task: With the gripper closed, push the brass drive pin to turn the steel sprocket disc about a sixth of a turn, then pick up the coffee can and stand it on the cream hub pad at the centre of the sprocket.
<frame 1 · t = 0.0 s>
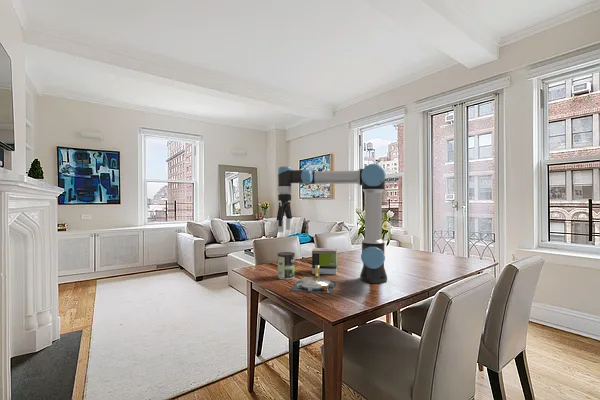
hand: (284, 230, 169), 28 cm above the table, tool pointing down, fingers open, 13 cm apart
tea box: (324, 272, 186), on the table
base plate: (314, 286, 157), on the table
coffee can: (286, 277, 175), on the table
sprocket: (314, 276, 157), point 5 cm above the table, hinge at 0.0°
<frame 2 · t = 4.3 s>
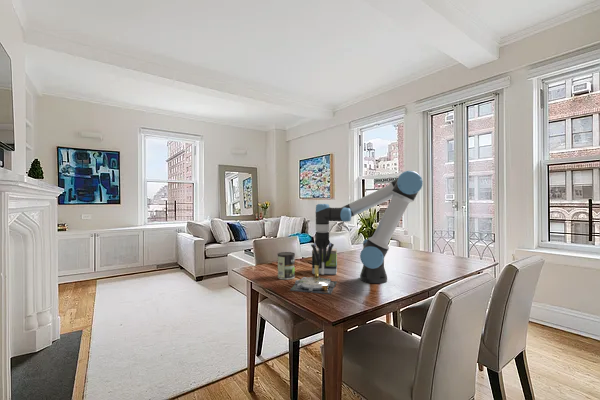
hand: (322, 273, 165), 5 cm above the table, tool pointing down, fingers closed
sprocket: (314, 276, 157), point 5 cm above the table, hinge at 2.5°, touching gripper
everything else where it was.
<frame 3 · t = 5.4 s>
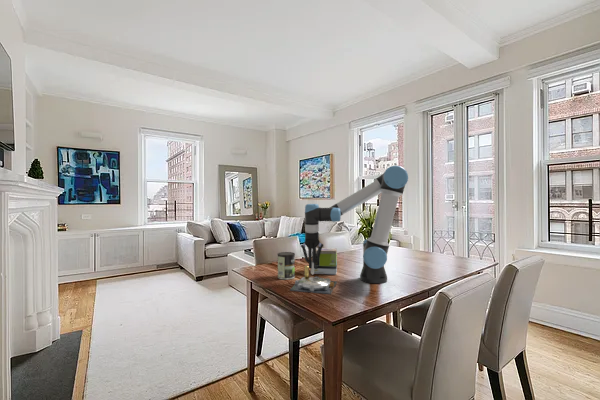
hand: (312, 273, 164), 5 cm above the table, tool pointing down, fingers closed
sprocket: (314, 276, 157), point 5 cm above the table, hinge at 50.3°, touching gripper
everything else where it was.
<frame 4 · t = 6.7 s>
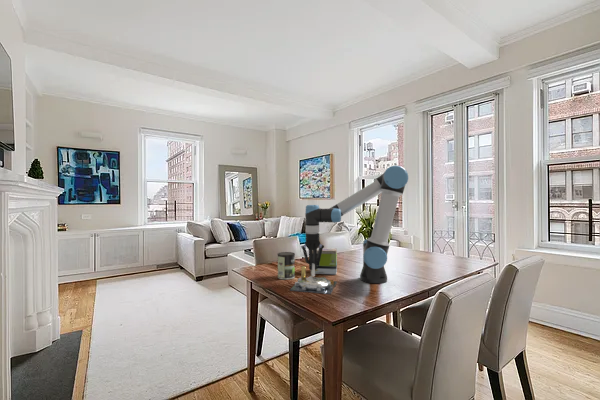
hand: (312, 275, 163), 4 cm above the table, tool pointing down, fingers closed
sprocket: (314, 276, 157), point 5 cm above the table, hinge at 69.9°
everything else where it was.
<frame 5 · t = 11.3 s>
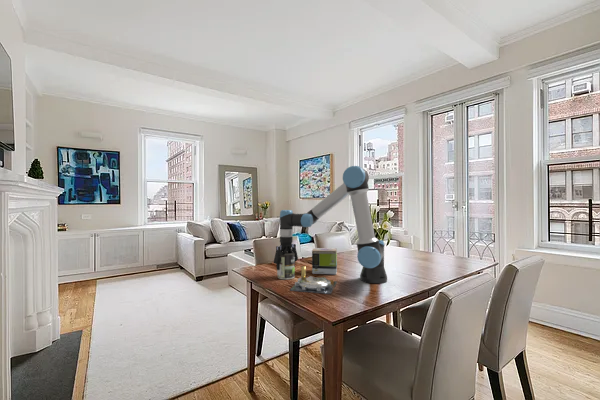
hand: (286, 273, 175), 2 cm above the table, tool pointing down, fingers closed on coffee can, 10 cm apart
coffee can: (286, 277, 175), on the table, touching gripper
everything else where it was.
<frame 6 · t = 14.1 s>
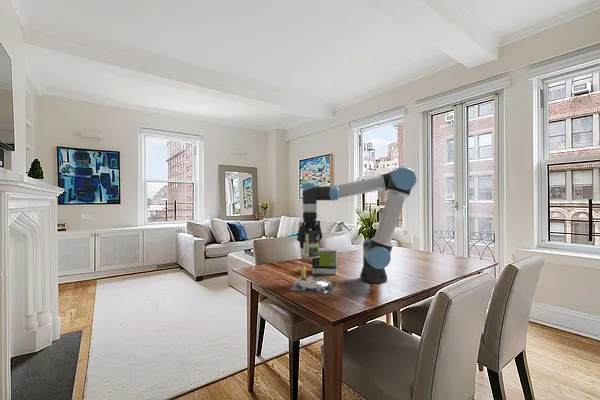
hand: (310, 252, 160), 17 cm above the table, tool pointing down, fingers closed on coffee can, 10 cm apart
coffee can: (310, 257, 160), point 15 cm above the table, touching gripper
everything else where it was.
when the fingers open (6 cm above the table, at t = 17.1 s): coffee can drops 1 cm, resting on sprocket.
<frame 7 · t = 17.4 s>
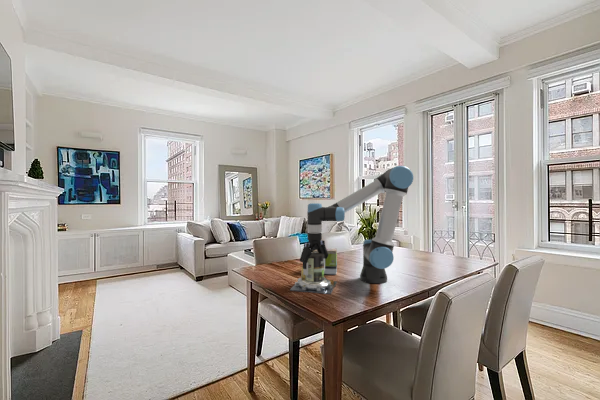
hand: (314, 272, 157), 7 cm above the table, tool pointing down, fingers open, 13 cm apart
coffee can: (314, 281, 157), point 3 cm above the table, touching sprocket
sprocket: (314, 276, 157), point 5 cm above the table, hinge at 69.9°, touching coffee can
everything else where it was.
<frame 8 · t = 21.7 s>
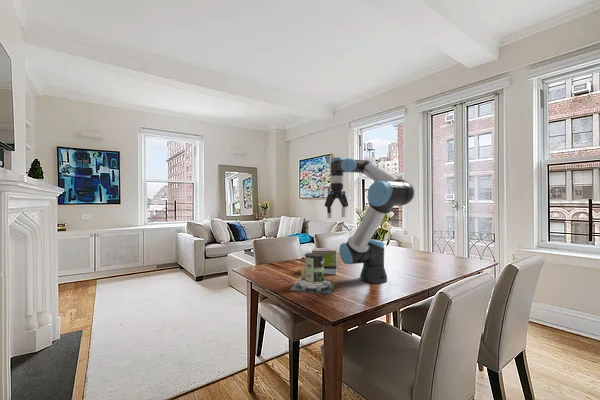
hand: (336, 217, 180), 35 cm above the table, tool pointing down, fingers open, 13 cm apart
nothing on the table moved.
at the end: sprocket at +70° (first picture: +0°); coffee can 0.0 cm from the sprocket (horizontally); coffee can tilted 0° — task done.
